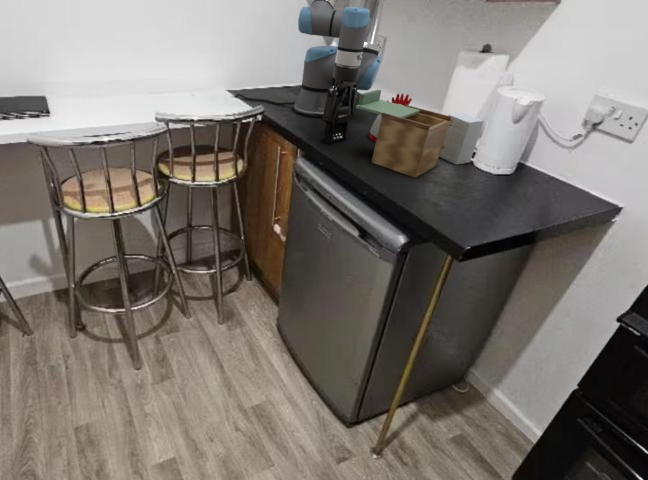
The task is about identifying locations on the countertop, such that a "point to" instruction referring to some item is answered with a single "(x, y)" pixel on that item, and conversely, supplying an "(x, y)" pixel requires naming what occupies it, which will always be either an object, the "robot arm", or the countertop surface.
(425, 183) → the countertop surface
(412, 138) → the case
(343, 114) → the battery charger
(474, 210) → the countertop surface
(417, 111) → the lid
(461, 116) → the small box
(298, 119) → the countertop surface
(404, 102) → the white toy chicken
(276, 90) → the countertop surface
